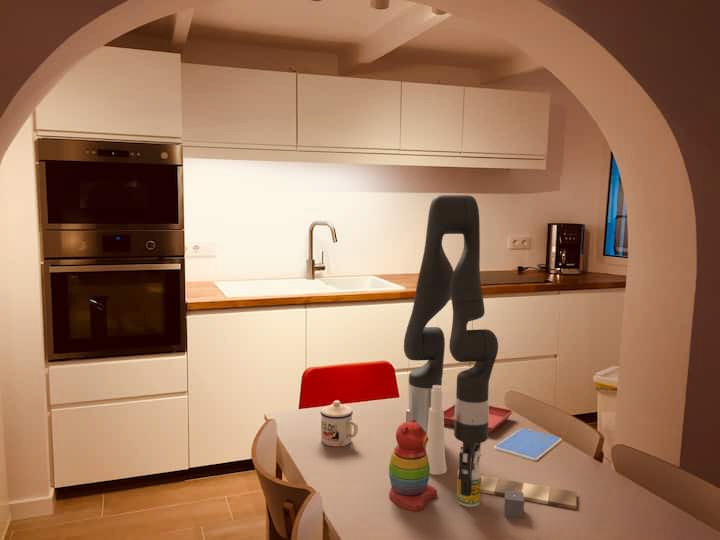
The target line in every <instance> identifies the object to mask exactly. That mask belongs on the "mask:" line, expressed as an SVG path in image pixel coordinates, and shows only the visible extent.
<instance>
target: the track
mask: <svg viewBox="0 0 720 540" xmlns="http://www.w3.org/2000/svg"><path fill="white" fill-rule="evenodd" d="M505 491H514V492H523V495H524V501H527V502H533V503H538V504H544V505H550V506H556V507H560V508H566V509H571V510H577V491H573V490H569V489H561V488H555V487H549V486H545V485H539V484H532V483H527V482H520V481H514V480H511V479H510V480H509V479H503V478H497V477H492V476H486V475H481V494H482V493H484V494H489V495H494V496H498V497H504V496H505Z"/></svg>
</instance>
